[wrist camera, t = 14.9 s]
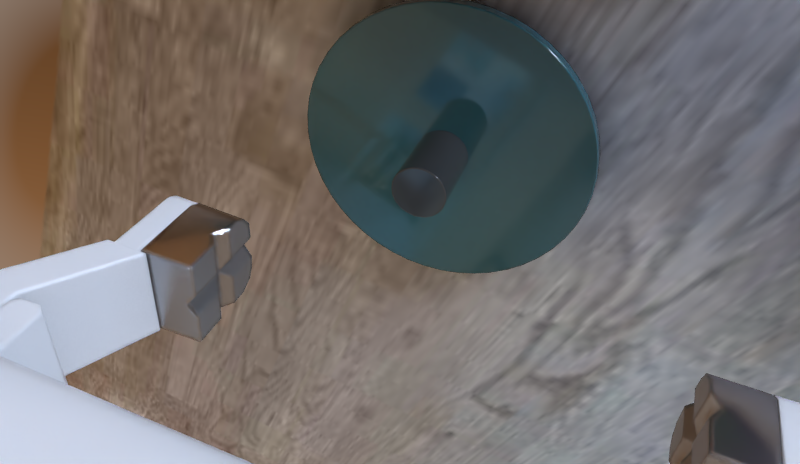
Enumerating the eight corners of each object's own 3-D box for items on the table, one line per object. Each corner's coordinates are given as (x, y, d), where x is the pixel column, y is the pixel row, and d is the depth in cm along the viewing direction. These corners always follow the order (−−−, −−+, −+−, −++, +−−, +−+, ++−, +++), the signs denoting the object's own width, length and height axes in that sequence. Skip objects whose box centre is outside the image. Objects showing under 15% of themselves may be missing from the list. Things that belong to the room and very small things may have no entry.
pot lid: (646, 35, 26) (636, 83, 22) (557, 292, 34) (540, 356, 31) (322, -39, 29) (268, -7, 25) (314, 215, 37) (272, 266, 34)
